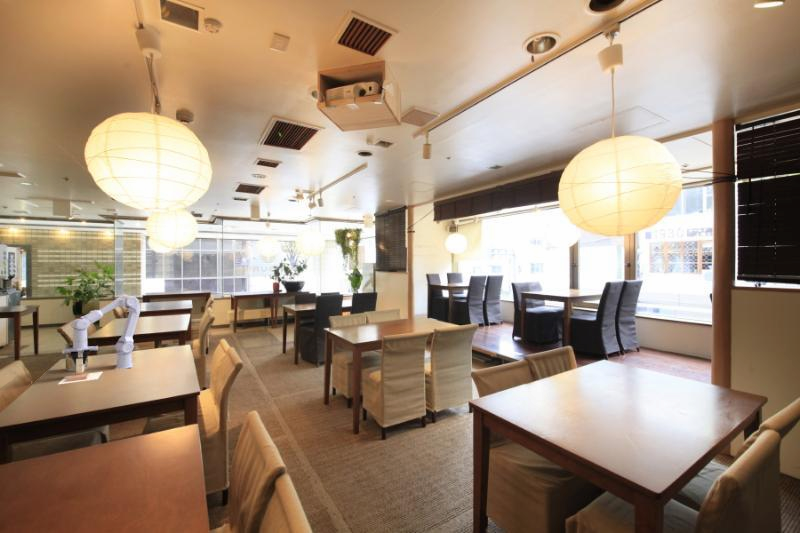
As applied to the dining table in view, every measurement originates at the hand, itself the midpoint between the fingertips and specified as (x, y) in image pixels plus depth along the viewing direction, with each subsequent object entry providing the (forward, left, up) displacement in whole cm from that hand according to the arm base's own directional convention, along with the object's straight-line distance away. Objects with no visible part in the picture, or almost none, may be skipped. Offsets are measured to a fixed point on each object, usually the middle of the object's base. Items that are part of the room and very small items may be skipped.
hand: (80, 364), depth 189 cm
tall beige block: (-1, 0, -4) cm, 4 cm away
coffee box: (-17, -5, -8) cm, 19 cm away
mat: (+3, +1, -7) cm, 8 cm away
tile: (+1, 0, -5) cm, 5 cm away
